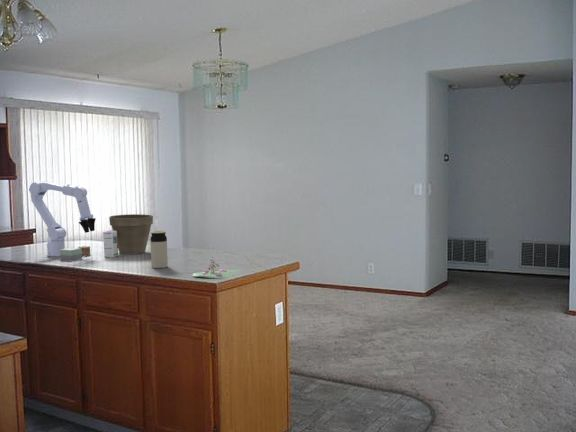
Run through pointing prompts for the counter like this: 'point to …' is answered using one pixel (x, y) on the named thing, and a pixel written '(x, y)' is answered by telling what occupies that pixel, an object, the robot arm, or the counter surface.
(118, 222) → the plant pot
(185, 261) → the counter surface
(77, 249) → the sage slab
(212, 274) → the plant
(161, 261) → the travel mug
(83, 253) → the walnut block
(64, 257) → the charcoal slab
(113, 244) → the syrup box
